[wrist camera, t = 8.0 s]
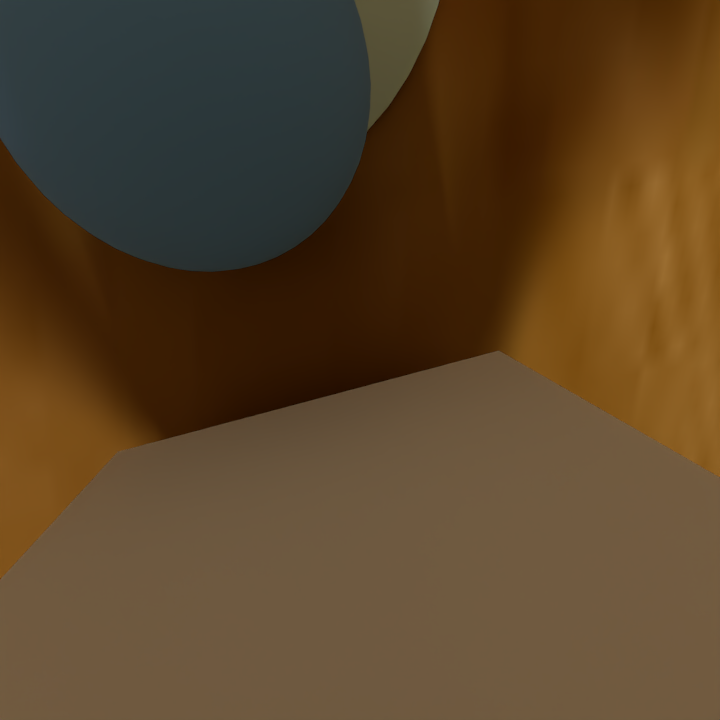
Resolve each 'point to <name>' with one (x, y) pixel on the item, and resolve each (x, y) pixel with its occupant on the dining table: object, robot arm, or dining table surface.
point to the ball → (187, 120)
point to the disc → (392, 44)
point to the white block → (379, 567)
